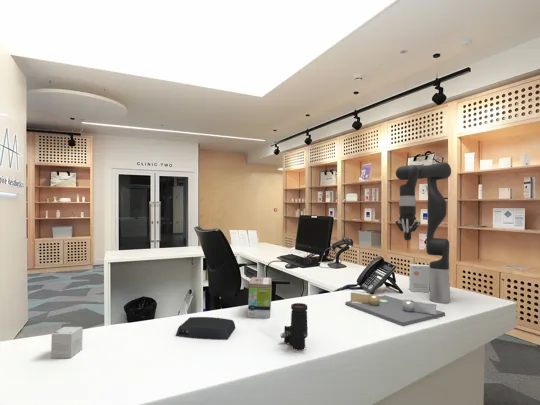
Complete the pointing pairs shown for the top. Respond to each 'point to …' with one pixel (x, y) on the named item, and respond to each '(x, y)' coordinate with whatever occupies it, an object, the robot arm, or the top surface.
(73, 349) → the skincare box
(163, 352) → the top surface
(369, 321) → the top surface
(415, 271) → the skincare box
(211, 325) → the external hard drive
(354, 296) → the brass door handle
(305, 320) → the scope
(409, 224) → the robot arm
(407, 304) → the chrome lever handle
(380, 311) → the board
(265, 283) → the tea box
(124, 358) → the top surface
